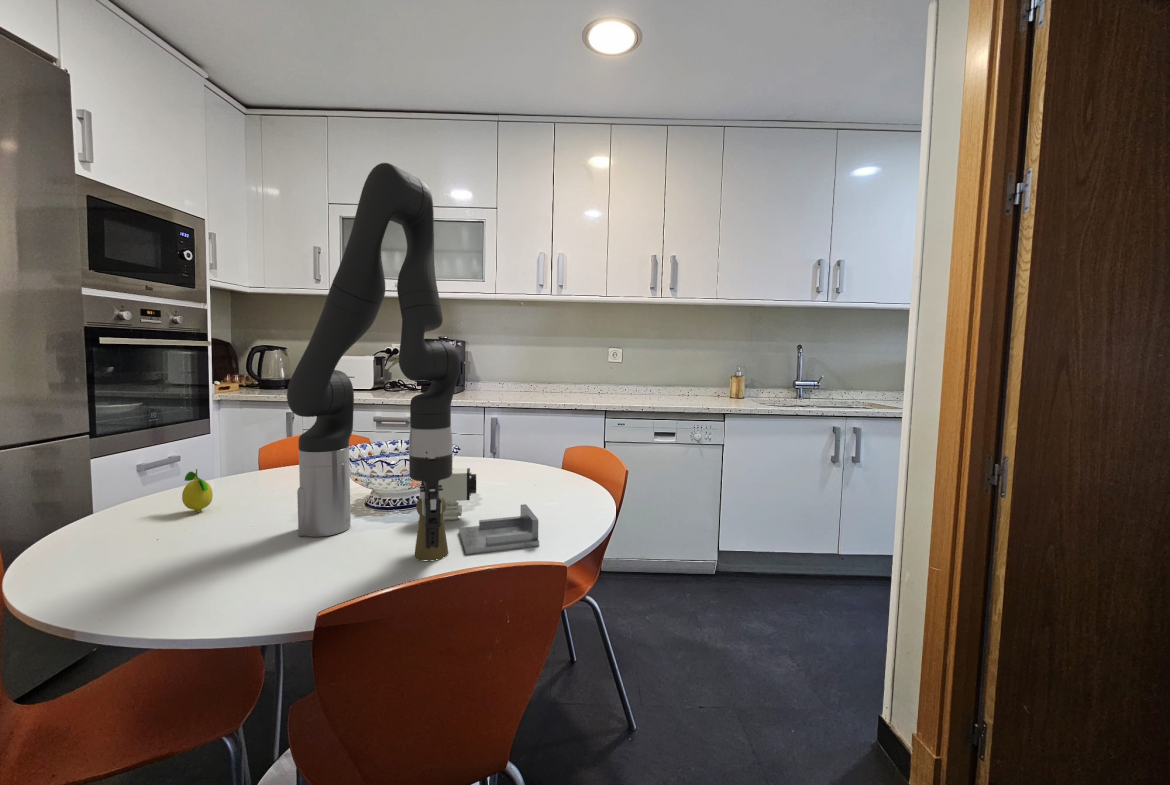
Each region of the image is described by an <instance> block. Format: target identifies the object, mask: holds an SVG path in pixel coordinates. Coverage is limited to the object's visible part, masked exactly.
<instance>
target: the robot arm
mask: <svg viewBox="0 0 1170 785" xmlns="http://www.w3.org/2000/svg"><path fill="white" fill-rule="evenodd" d="M359 196H360V197H359V200H358V204H357V207H356V212H355V216H354V220H353V223H352V228H351V231H350V235H349V238H348V240H347V243H346V247H345V249H344V252H343V255H342V258H341V261H340V263H339V266H338V268H337V270H336V273H335V276H334V278H333V280H332V282H331V285H330V287H329V290H328V293H327V296H326V299H325V302H324V305H323V307H322V311H321V313H320V316H319V318H318V320H317V323H316V326H315V328H314V330H313V333H312V335H311V337H310V340H309V342H308V344H307V346H306V348H305V350H304V352H303V353H302V356H301V358H300V360H299V362H298V363H297V365H296V368H295V369H294V372H293V373H292V375H291V377H290V380H289V382H288V384H287V391H286V401H287V405H288V407H289V409H290V412H291V411H292V413H293V414H294V415H297V416H298V417H305V418H313V417H316V420H315V422H314V423H313V424H312V426H311V427H310V428H308V429H307V430H306V431H305V432H303V433H302V434H300V436H299V437H298V444H297V445H298V472H299V487H298V488H297V492H296V493H297V496H296V497H297V526H298V527H297V528H298V530H297V531H298V532H297V533H298V537H303V536H304V537H313V538H318V537H319V538H320V537H328V536H333V535H337V534H340V533H343V532H346V531H347V530H349V529H350V528H351V517H352V516H351V482H350V481H351V473H350V469H351V467H350V438H351V436H352V433H353V430H354V408H355V394H354V388H353V387H354V386H353V383H352V381H351V379H350V378H349V376H348V375H347V374H346V373H345V372H343V371H341V370H338V369H336V367H337V366H338V363H339V362H340V360H341V359H342V358H343V356H344V355H345V353H346V352H347V351H348V350H350V348H352V347H353V345H355V344H356V343H357V342H358V340H360V339H361V338H362V337H363V336H364V335H365V334H366V333H367V332H368V331H369V329H370V328H371V327H372V325H374V324H373V323H374V322H375V320H376V318H377V316H378V314H379V311H380V308H381V307H382V303H383V301H384V298H385V294H386V278H385V272H384V266H383V260H382V245H383V240H384V236H385V233H386V232H387V231H386V230H387V228H388V225H389V223H390V221H391V222H393V223H395V224H398V225H401V227H402V229H403V232H404V236H405V240H406V254H405V256H404V259H403V260H404V261H403V263H402V265H401V267H400V270H399V273H398V278H397V286H396V290H397V298H398V303H399V304H398V305H399V308H400V309H399V310H400V315H401V321H402V323H401V334H400V344H399V345H400V346H399V351H398V364H399V365H398V366H399V368H400V371H401V373H402V374H403V376H404V377H405V378H406V379H408V380H410V381H413V382H427V381H428V382H429V381H431V384H430V386H429V388H428V390H427V391H424V392H423V393H418V394H416V395H414V396H413V397H412V398H411V399H410V406H409V409H410V410H409V415H410V417H409V419H410V422H409V423H410V427H409V437H408V438H409V439H408V457H409V459H408V462H409V464H408V466H409V467H408V471H409V473H408V475H409V478H410V479H412V480H413V481H417V482H421V481H423V483H422V486H421V485H420V486H419V497H420V498H421V500H422V514H423V515H424V516H425V524H424V527H425V529H426V548H427V549H430V547H431V546H433V547H435V548H438V546H439V528H440V525H441V523H440V514H441V513H442V497H443V488H442V485H439V481H440V480H442V479H447V478H449V477H450V476H451V475H452V469H453V435H452V419H451V418H452V414H451V413H452V411H451V408H452V400H453V397H454V394H455V390H456V386H457V383H458V379H459V375H460V370H461V358H460V353H459V351H458V349H457V348H456V346H455V345H454V344H452V343H450V342H446V341H430V340H429V341H426V340H425V333H427V332H431V331H435V330H437V329H438V328H440V327H441V326H442V324H443V321H444V320H443V312H442V305H441V301H440V296H439V290H438V286H437V285H438V284H437V279H436V277H437V276H436V269H435V268H436V267H435V231H434V230H435V226H434V225H435V224H434V221H435V219H434V218H435V216H434V215H435V214H434V201H433V200H434V199H433V195H432V192H431V189H430V188H429V186H428V185H427V184H426V183H425V182H424V181H423V180H421V179H420V178H418V177H416V176H415V175H412V174H411V173H409V172H407V171H405V170H403V169H401V168H399V167H398V166H396V165H393V164H392V163H388V162H381V163H379V164H376V166H374V167H373V168H372V169H371V170H370V172H369V174H368V175H367V177H366V179H365V182H364V184H363V187H362V189H361V194H360V195H359ZM420 498H419V499H420ZM425 504H426V510H425ZM429 518H436V521H429Z"/></svg>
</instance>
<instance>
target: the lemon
mask: <svg viewBox="0 0 1170 785" xmlns="http://www.w3.org/2000/svg"><path fill="white" fill-rule="evenodd" d="M184 481H186V482H188V483H187V484H186V485H185V487H184V488H183V490H182V492H181V493H182V494H181V499H182V501H181V502H182V503H183V505H184V506H185V507H186V508H187V509H190V510H193V511H194V512H196V511H200V512H201V511H202V510H203V509H205V508H207V507H208V506H209V505H210V504H211V503H212V502H213V501H212V500H213V496H214V494H213V489H212V486H211V485H210V484H209V483H208V482H207V481H205V480H203V479H202V478H199V477H198V468H196V469H195V472H194V471H189V472H187V473H186V475H185V477H184Z"/></svg>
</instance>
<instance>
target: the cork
mask: <svg viewBox="0 0 1170 785" xmlns="http://www.w3.org/2000/svg"><path fill="white" fill-rule="evenodd" d="M415 506H416V507H415V508H416V512H417V514H418V515H419V517H418V526H417V533H416V540H415V548H414V549H415V550H414V555H413V557H414V556H415V557H414V559H415V558H416V559H415V560H417V559H418V560H417V561H420V560H436V559H440V560H442V559H441V558H443V557H445V556H446V555H447V554H448V555H449V549H448V548H449V547H448V540H447V534H446V527H445V521H444V518H443V512H444V511H445V508H446V501H445V499H444V498H443V497H442V513H441V514H440V523H441V525H440V528H439V546H438V548H435V547H433V546H431V547H430V549H427V548H426V529H425V527H424V524H425V516H424V515H423V514H422V500H421V498H418V500H417V501H416V505H415ZM425 510H426V504H425ZM429 521H436V518H429ZM448 555H447V556H448ZM447 556H446V557H447ZM446 557H445V558H446ZM443 559H444V558H443ZM436 561H437V560H436Z"/></svg>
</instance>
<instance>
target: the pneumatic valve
mask: <svg viewBox="0 0 1170 785" xmlns="http://www.w3.org/2000/svg"><path fill="white" fill-rule="evenodd" d="M422 483H423V481H420V484H421V485H420V486H422ZM439 485H442V488H443V498H444V499H445V501H446V508H445V511H444V512H443V518H444V522H445V521H446V522H447V521H457V520H459V517H461V516H462V514H463V506H462V505H461V504H460V503H459V501H462V502H463V501H470V500H471V496H472V495H473V494H474V495H475V494H477V474H476V473H472V472H471V468H470V467H467V468H466V467H465V468H453V467H452V475H451V476H450V477H449V478H447V479H442V480H440V481H439ZM459 504H460V505H459Z"/></svg>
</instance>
